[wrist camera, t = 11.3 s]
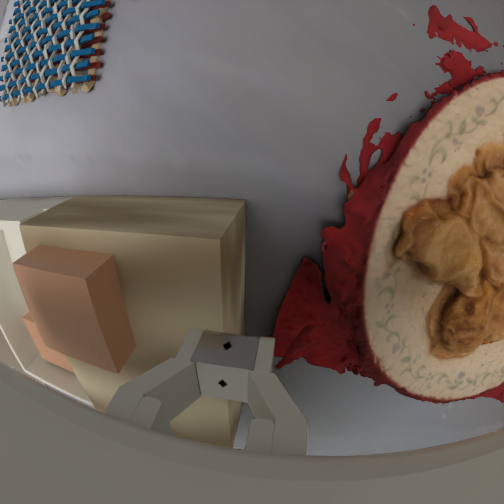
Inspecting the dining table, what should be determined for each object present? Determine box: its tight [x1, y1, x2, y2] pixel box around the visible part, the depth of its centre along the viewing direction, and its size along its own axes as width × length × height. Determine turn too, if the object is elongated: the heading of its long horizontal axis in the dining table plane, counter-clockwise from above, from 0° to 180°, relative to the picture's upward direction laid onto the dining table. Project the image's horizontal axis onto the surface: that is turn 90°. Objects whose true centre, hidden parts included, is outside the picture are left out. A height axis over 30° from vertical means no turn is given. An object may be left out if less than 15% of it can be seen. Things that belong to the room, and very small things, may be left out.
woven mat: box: [0, 0, 111, 107], centre depth 10 cm, size 10×11×2 cm
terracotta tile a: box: [22, 311, 74, 373], centre depth 20 cm, size 5×5×2 cm
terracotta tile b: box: [12, 245, 136, 374], centre depth 11 cm, size 5×5×2 cm
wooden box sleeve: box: [19, 196, 246, 448], centre depth 16 cm, size 16×11×5 cm
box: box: [0, 196, 94, 406], centre depth 18 cm, size 16×10×4 cm, turn 179°
